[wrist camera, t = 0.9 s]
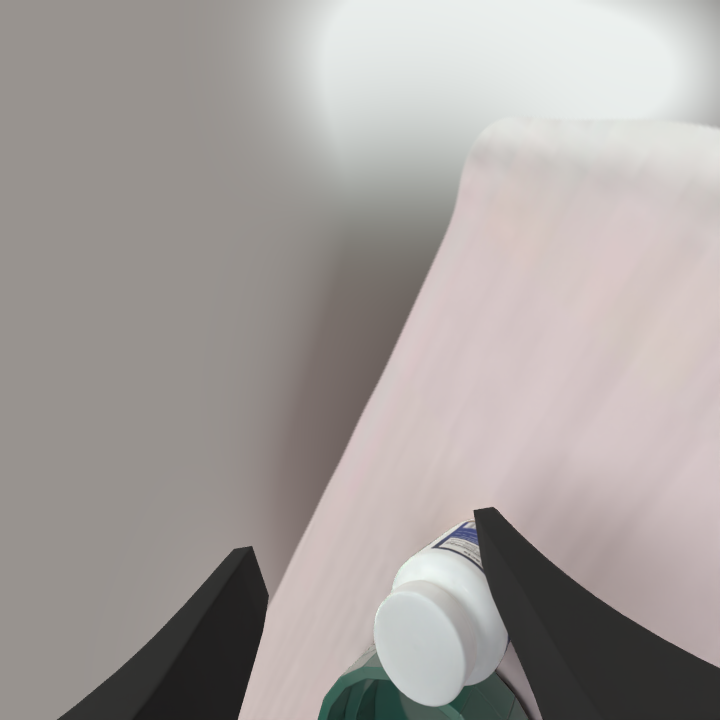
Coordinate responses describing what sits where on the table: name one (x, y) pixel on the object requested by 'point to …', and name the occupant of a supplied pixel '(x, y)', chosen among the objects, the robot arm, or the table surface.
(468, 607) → the pill bottle
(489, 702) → the bowl
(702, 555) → the table surface
